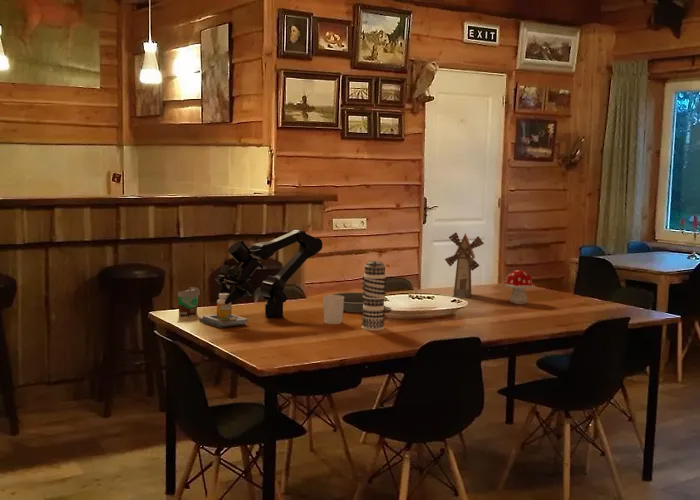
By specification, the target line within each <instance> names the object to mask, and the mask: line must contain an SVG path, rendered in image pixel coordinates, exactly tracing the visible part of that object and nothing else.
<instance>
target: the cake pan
mask: <svg viewBox="0 0 700 500" xmlns="http://www.w3.org/2000/svg"><path fill="white" fill-rule="evenodd" d="M362 293H363V292H338V293H333V294H331V295H339V296H343V297H344V307H343V312H350V313H364V312H363V311H362V309H363V304H364V297H363V294H362ZM386 300H387V298H386V297H385V298H384V302H386Z"/></svg>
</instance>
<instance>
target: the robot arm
mask: <svg viewBox="0 0 700 500" xmlns="http://www.w3.org/2000/svg"><path fill="white" fill-rule="evenodd" d="M295 243H297V244H298V245H299V247H298V250H297V252H296V253H295V254H294V255H293V256H292V257H291V258H290V260H288V262H287V263H286V264H285V265H284V266H283V267H282V268H281V269H280V270H279V272H278V273H277V274H276V275H274V276H272V275H267V277H266V278H265V279H264V280H263V281H262V282H261V283H262V284H261V286H260V294H261V295H262V298H263V300H265V301H266V302H265V303H264V316H265V317H266V318H269V319H271V318H273V319H275V318H279V319H280V318H284V303H286V302H287V299H288V296H287V295H286V293H284V291H285V287H286V284H287V282H288V281H289V280H290V279H292V277H293V275H295V273H296V272H297V271H298V270H299V269H300V268H301V266H302V265H303V264H305V262H306V261H307V260H308V259H309V258H311V257H314V256H316V255H318V253H319V252H321V251H322V249H323V247H324V246H323V240H322V239H321V238H319V237H314V236H312V235H310V234H307V233H306V232H304V231H303V230H300V229H293V230H292V231H289V232H287V233H286V234H283V235H280V236H279V237H277V238H274V239H272V240H269V241H261V242H260V241H259V242H257V243H253V244H252V245H251V246H249V247H248V246H247V245H246V243H245V242H244V241H243V240H242V239H241V240H240V239H239V240H238V241H237V242H234V243H232V244H231V245H230V246H229V247H228V249H227V253H228V254H229V255H230V256H231V257H232V258H233V259H234V260H235V261H236V262H237V263H238V264H240V263H241V264H240V265H239V266H237V265H235V264H234V265H226V264H222V266H221V268H220V271H219V273H220V274H218V275H217V276H216V277H215V278H214V280H215V281H216V282H217V283H218V284H219V291H218V292H217V296H216V299H215V301H216V302H217V300H218V299H220V298H219V294H220V293H229V296H228V297H227V299H226V301H225V304H229V303H233V302H234V301H237V300H239V299H240V298H242V297H246V296H250V297H251V296H252V295H253V294H254V292H255V288H254V287H253V285H251V284H250V282H249V281H251V280H252V279H253V278H252V275H253V274H254V273H255V272H256V270H257V269H259V270H264V265H263V261H259V260H264V261H265V260H269V258H271V257H272V256H273V255H275V253H276V252H278V251H280V250H281V249H283V248H286V247H288V246H290V245H293V244H295ZM258 259H259V260H258ZM223 274H224V275H223Z"/></svg>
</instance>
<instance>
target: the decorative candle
mask: <svg viewBox="0 0 700 500" xmlns="http://www.w3.org/2000/svg"><path fill="white" fill-rule="evenodd" d="M363 266H364V273H363V276H362V277H361V279H362V290H363V291H362V292H361V293H362V294H363V297H364V304H363V309H362V311H363V312H361V315H362V316H363V317H362V318H361V320H362V321H361V325H362V326H361V329H363V330H366V331H383V330H384V329H385V322H386V321H385V319H386V318H385V312H386V310H385V301H384V298H386V296H385V295H386V294H387V293H386V292H385V291H386V290H387V288H386V287H385V286H387V285H388V284H387V281H388V279H387V278H386V265H385V264H384V262H382V261H379V260H369V261H367V262H366V263H365V264H364V265H363Z"/></svg>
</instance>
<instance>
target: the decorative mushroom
mask: <svg viewBox="0 0 700 500" xmlns="http://www.w3.org/2000/svg"><path fill="white" fill-rule="evenodd" d="M502 284H503V286H504V287H506V288H511V289H512V291H511V293H510V295H509V296H508V297H509V299H508V300H509V302H510V303H511V304H513V303H514V305H525V304H526V303H527V302H528V297H527V294H526V291H525V290H526V289H533V288H535V283H534V282H533V278H532V276H531V275H530V273H528V272H527V271H525V270H523V269H516V270H512V271H511V272H509V274H508V275H507V276H506V279H505V281H504V282H503V283H502Z"/></svg>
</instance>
